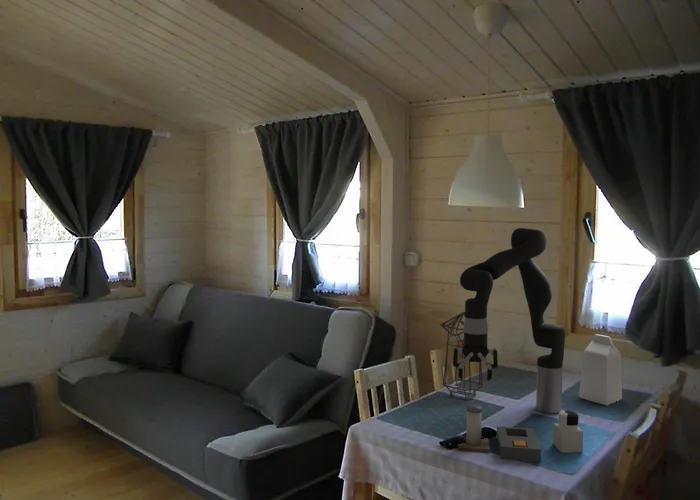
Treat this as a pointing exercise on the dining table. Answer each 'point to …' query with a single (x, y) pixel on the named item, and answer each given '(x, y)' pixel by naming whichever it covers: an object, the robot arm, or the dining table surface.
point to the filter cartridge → (474, 424)
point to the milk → (601, 372)
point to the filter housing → (518, 453)
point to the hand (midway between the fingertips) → (474, 379)
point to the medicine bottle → (568, 433)
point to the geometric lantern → (457, 360)
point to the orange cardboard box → (519, 443)
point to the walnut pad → (475, 446)
